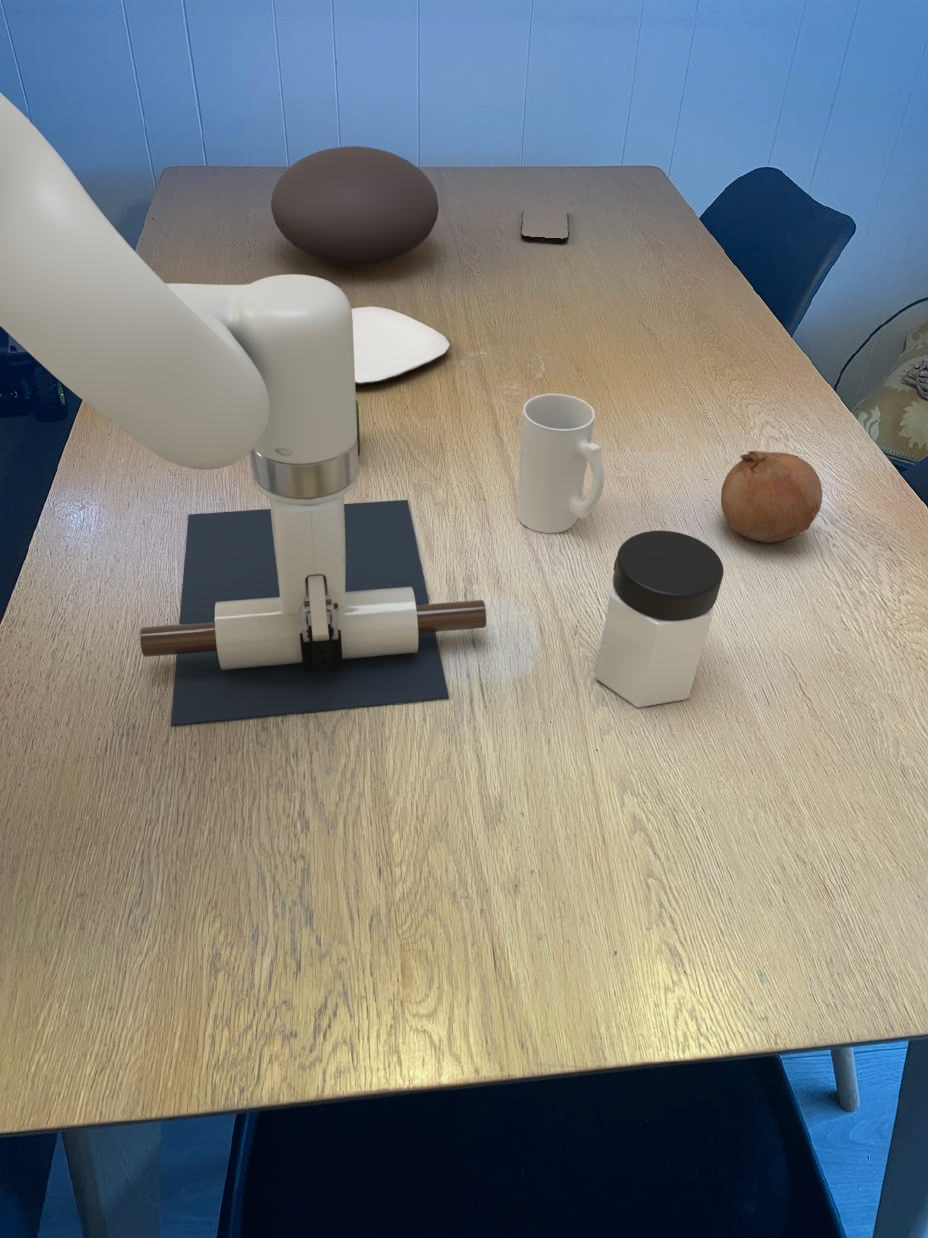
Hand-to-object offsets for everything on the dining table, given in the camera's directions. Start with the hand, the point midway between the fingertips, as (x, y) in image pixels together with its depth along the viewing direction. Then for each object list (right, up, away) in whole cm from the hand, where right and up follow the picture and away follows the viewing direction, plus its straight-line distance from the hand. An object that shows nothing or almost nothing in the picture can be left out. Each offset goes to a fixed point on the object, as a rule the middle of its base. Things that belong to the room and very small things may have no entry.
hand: (320, 640), depth 78 cm
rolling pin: (0, -1, +1) cm, 1 cm away
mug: (+22, +11, +16) cm, 29 cm away
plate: (0, +36, +42) cm, 56 cm away
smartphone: (+26, +67, +78) cm, 106 cm away
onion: (+42, +10, +16) cm, 46 cm away
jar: (+27, -3, +1) cm, 28 cm away
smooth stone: (-4, +58, +66) cm, 88 cm away
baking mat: (-2, +4, +6) cm, 8 cm away
